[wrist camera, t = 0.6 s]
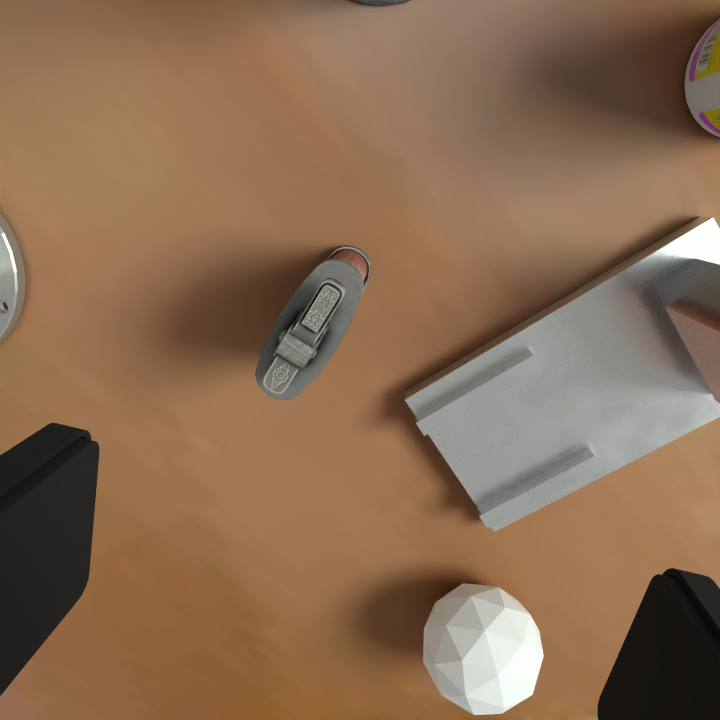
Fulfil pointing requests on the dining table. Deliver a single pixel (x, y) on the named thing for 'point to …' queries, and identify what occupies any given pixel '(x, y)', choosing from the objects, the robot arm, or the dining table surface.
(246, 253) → the dining table surface
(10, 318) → the robot arm
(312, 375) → the lighter
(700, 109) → the supplement bottle
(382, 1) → the canister
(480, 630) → the geometric ball
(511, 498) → the finger rail
